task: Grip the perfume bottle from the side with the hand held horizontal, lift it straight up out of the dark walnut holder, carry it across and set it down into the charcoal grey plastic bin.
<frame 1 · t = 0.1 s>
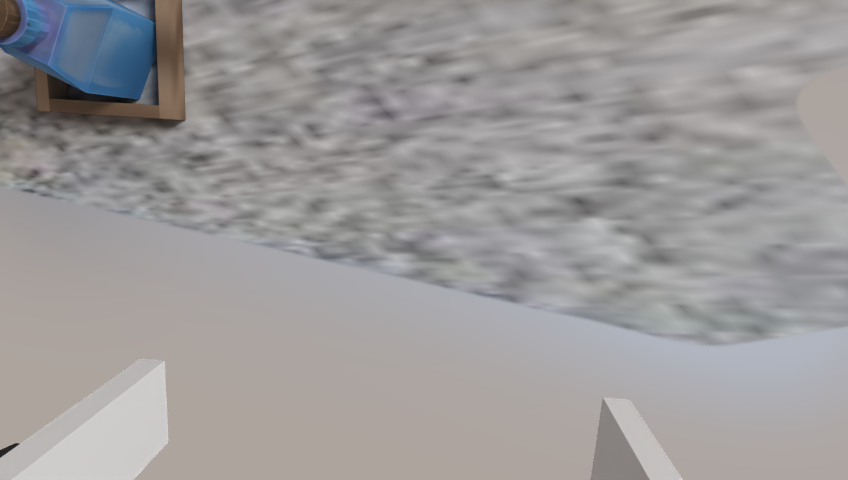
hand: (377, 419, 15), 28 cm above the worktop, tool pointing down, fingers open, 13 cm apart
holder: (117, 46, 41), on the worktop
perfume bottle: (119, 46, 41), resting in holder
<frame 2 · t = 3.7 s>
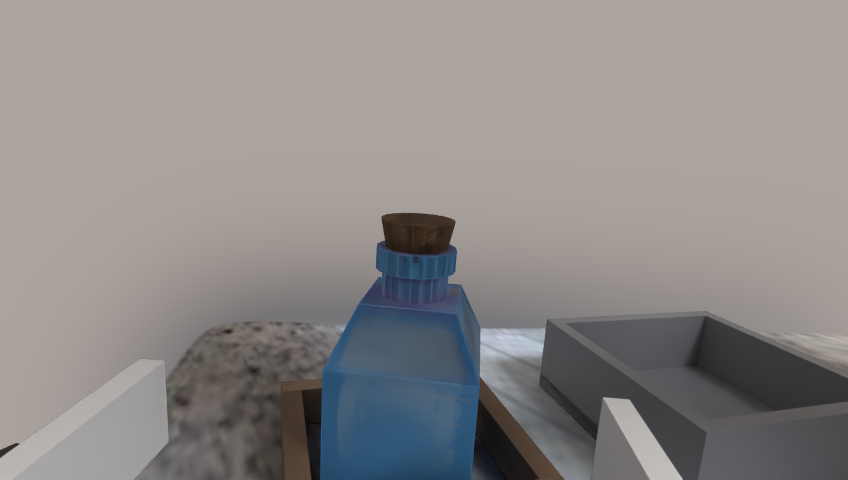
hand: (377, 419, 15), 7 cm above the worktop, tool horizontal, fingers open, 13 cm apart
bin: (692, 428, 29), on the worktop
holder: (403, 467, 24), on the worktop
perfume bottle: (403, 471, 24), resting in holder
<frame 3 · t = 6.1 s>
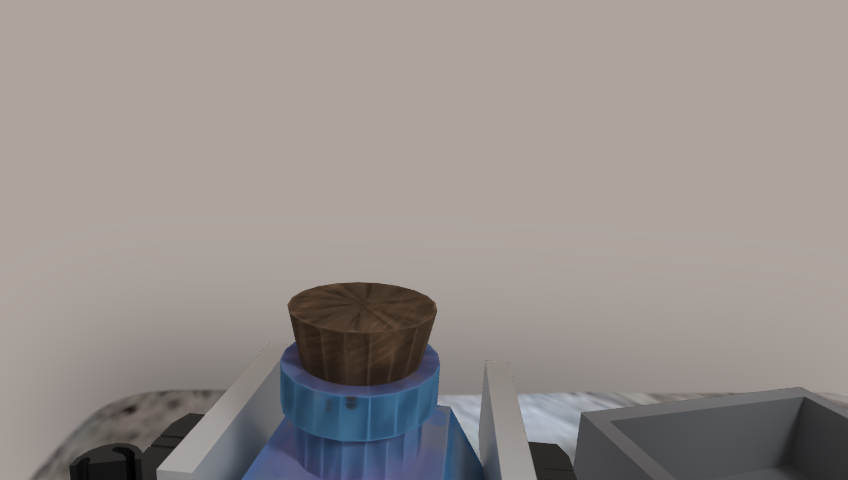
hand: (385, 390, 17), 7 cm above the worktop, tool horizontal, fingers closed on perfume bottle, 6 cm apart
when the fingers open (10 cm above the worktop, at t = 11.1 s): perfume bottle drops 2 cm, resting on bin.
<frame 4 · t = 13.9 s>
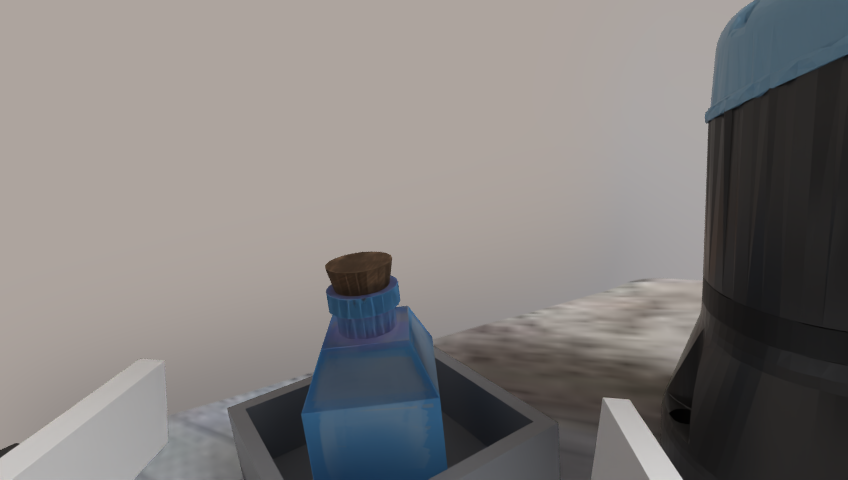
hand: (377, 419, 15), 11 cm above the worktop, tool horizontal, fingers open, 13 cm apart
perfume bottle: (389, 477, 27), point 1 cm above the worktop, touching bin
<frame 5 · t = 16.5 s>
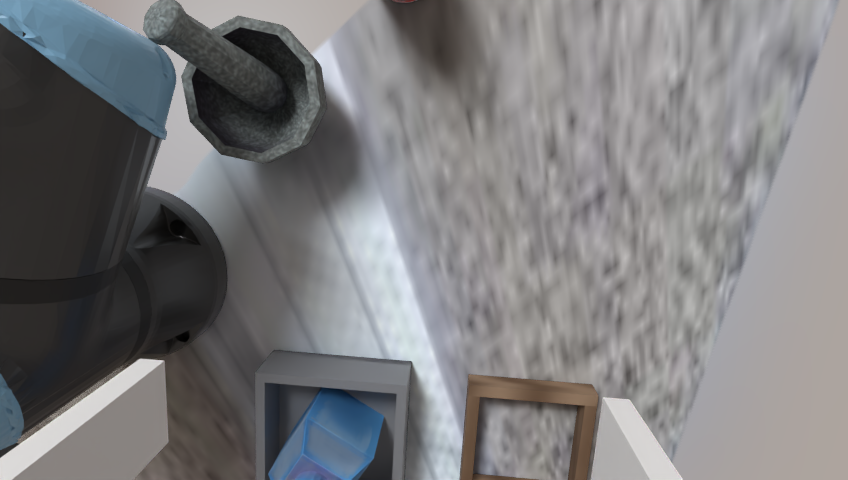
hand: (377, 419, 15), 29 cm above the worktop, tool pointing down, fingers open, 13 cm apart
bin: (340, 418, 47), on the worktop
mortar and pestle: (278, 92, 42), on the worktop
holder: (523, 434, 46), on the worktop
perfume bottle: (338, 422, 47), point 1 cm above the worktop, touching bin
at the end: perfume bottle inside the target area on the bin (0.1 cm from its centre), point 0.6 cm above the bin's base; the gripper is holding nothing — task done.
